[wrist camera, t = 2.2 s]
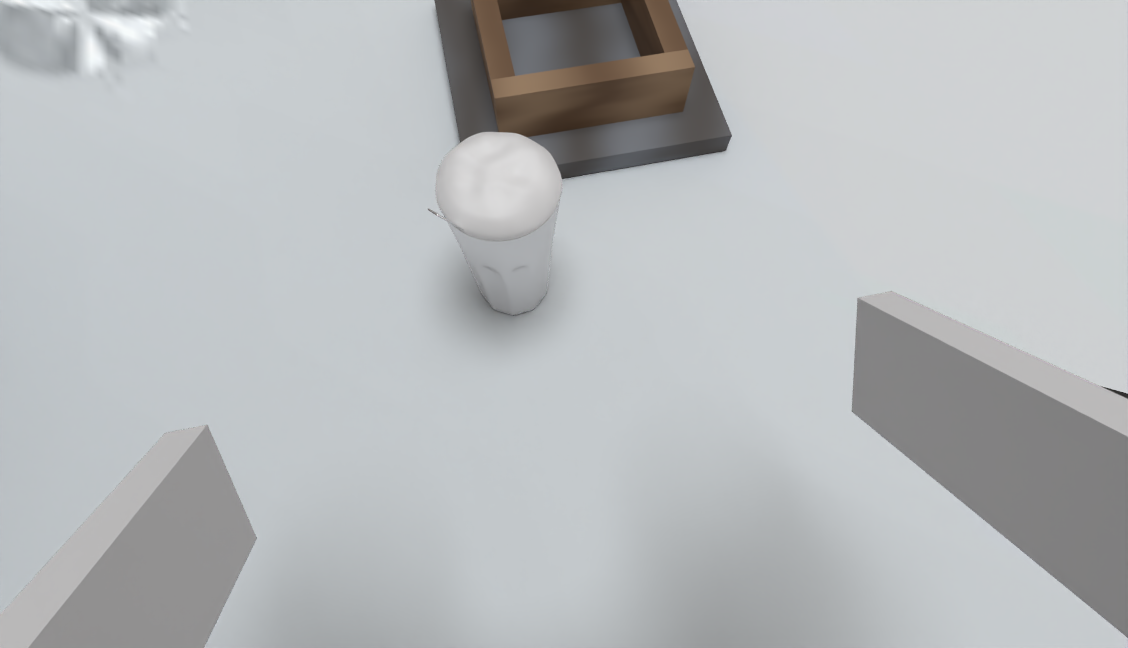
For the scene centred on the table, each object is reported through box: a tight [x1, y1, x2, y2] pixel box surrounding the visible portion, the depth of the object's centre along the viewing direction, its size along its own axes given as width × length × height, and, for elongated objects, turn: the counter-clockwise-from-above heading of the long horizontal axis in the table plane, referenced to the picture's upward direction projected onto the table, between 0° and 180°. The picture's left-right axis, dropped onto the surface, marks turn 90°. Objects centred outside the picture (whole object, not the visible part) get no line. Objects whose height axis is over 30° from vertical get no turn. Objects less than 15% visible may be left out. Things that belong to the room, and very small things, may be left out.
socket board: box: [435, 0, 732, 178], centre depth 32 cm, size 14×14×4 cm
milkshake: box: [428, 132, 562, 315], centre depth 24 cm, size 4×5×10 cm
